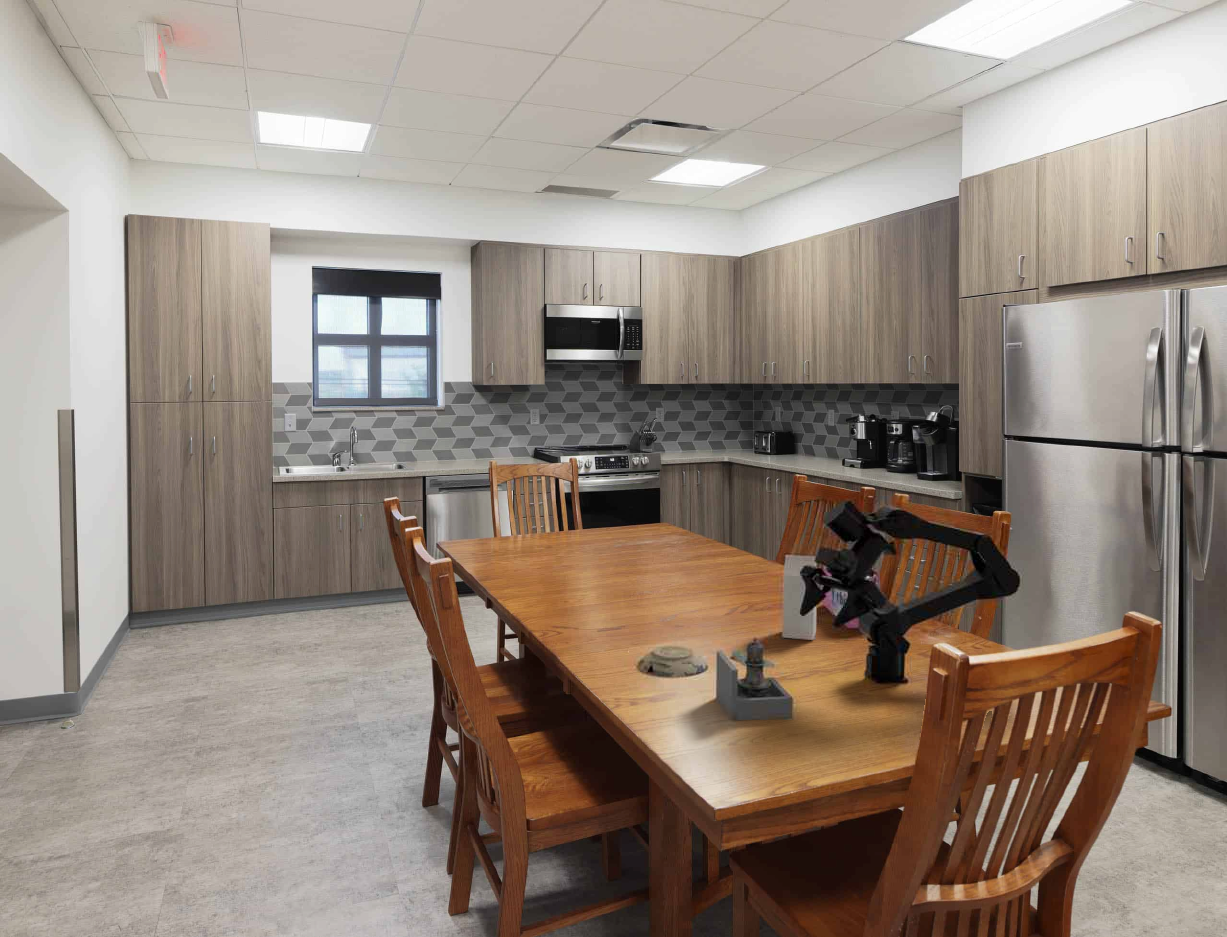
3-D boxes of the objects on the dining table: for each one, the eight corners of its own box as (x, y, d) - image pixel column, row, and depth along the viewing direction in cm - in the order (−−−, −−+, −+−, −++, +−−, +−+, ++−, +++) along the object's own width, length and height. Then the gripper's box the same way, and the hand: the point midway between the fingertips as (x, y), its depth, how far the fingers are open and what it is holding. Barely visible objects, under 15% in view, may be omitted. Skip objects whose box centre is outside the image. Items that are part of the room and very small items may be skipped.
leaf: (801, 691, 162) (801, 686, 162) (765, 692, 160) (765, 687, 160) (761, 654, 181) (762, 650, 181) (729, 655, 180) (730, 651, 180)
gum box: (882, 630, 200) (883, 575, 198) (849, 630, 199) (850, 575, 198) (850, 605, 223) (851, 556, 222) (821, 605, 223) (822, 556, 222)
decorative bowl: (718, 662, 177) (654, 652, 183) (718, 646, 176) (654, 636, 183) (693, 685, 163) (625, 673, 170) (693, 667, 163) (625, 656, 170)
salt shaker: (772, 708, 147) (773, 642, 146) (739, 707, 147) (739, 641, 146) (769, 696, 152) (769, 633, 151) (736, 695, 153) (737, 632, 152)
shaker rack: (773, 695, 156) (773, 648, 155) (792, 717, 145) (793, 667, 144) (716, 697, 155) (716, 651, 154) (731, 720, 144) (732, 670, 143)
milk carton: (813, 640, 191) (814, 559, 189) (782, 638, 193) (783, 558, 191) (816, 632, 197) (817, 554, 196) (785, 629, 200) (787, 552, 198)
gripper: (807, 525, 167) (763, 584, 163) (876, 539, 151) (829, 605, 146) (836, 559, 171) (793, 618, 167) (906, 577, 155) (861, 642, 151)
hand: (817, 620), depth 158 cm, fingers open, 9 cm apart
